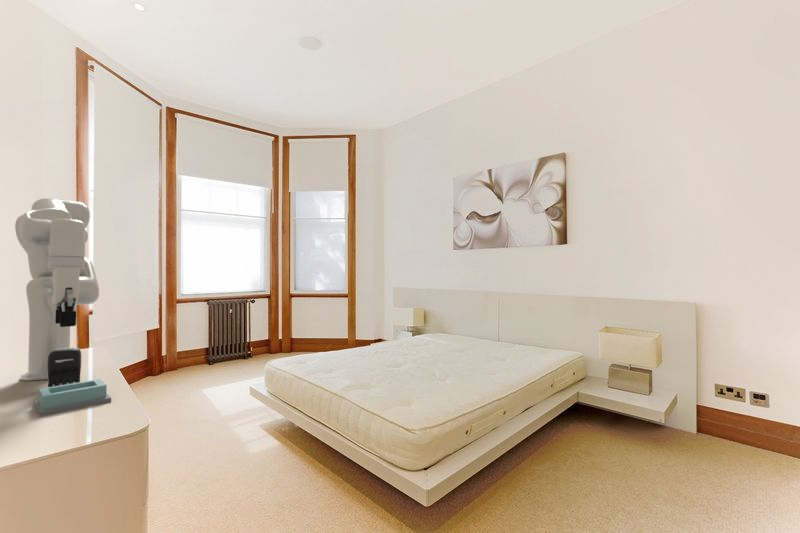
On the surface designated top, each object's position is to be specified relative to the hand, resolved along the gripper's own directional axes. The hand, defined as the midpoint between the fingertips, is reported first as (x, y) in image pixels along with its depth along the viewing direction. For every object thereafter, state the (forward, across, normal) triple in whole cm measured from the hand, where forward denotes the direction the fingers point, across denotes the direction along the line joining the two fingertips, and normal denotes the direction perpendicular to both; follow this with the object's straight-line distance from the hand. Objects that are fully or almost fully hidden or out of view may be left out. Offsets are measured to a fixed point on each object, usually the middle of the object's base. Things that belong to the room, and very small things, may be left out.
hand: (65, 324), depth 102 cm
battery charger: (+18, 0, 0) cm, 18 cm away
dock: (+18, +16, 0) cm, 24 cm away
